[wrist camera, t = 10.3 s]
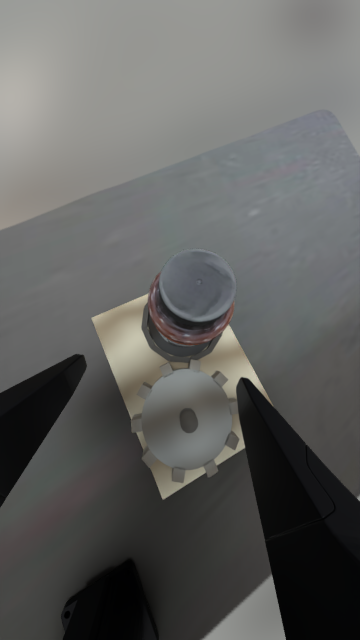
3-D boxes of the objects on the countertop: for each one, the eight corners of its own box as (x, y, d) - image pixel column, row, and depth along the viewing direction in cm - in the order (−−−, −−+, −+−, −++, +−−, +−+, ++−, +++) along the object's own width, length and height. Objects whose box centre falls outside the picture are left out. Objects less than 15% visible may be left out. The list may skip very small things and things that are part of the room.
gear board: (276, 419, 18) (305, 437, 14) (163, 491, 16) (161, 534, 12) (198, 275, 22) (205, 258, 18) (95, 319, 19) (76, 311, 16)
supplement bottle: (166, 293, 19) (160, 215, 8) (212, 307, 19) (267, 247, 8) (150, 339, 18) (119, 319, 7) (199, 354, 18) (245, 357, 7)
